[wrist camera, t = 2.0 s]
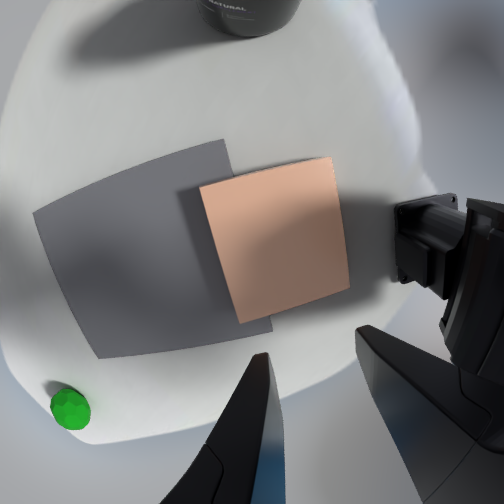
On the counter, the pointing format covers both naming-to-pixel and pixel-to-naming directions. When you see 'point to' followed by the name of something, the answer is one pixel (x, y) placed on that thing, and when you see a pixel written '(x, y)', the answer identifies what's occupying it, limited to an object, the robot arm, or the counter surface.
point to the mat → (145, 257)
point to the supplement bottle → (248, 15)
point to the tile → (279, 236)
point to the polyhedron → (70, 409)
